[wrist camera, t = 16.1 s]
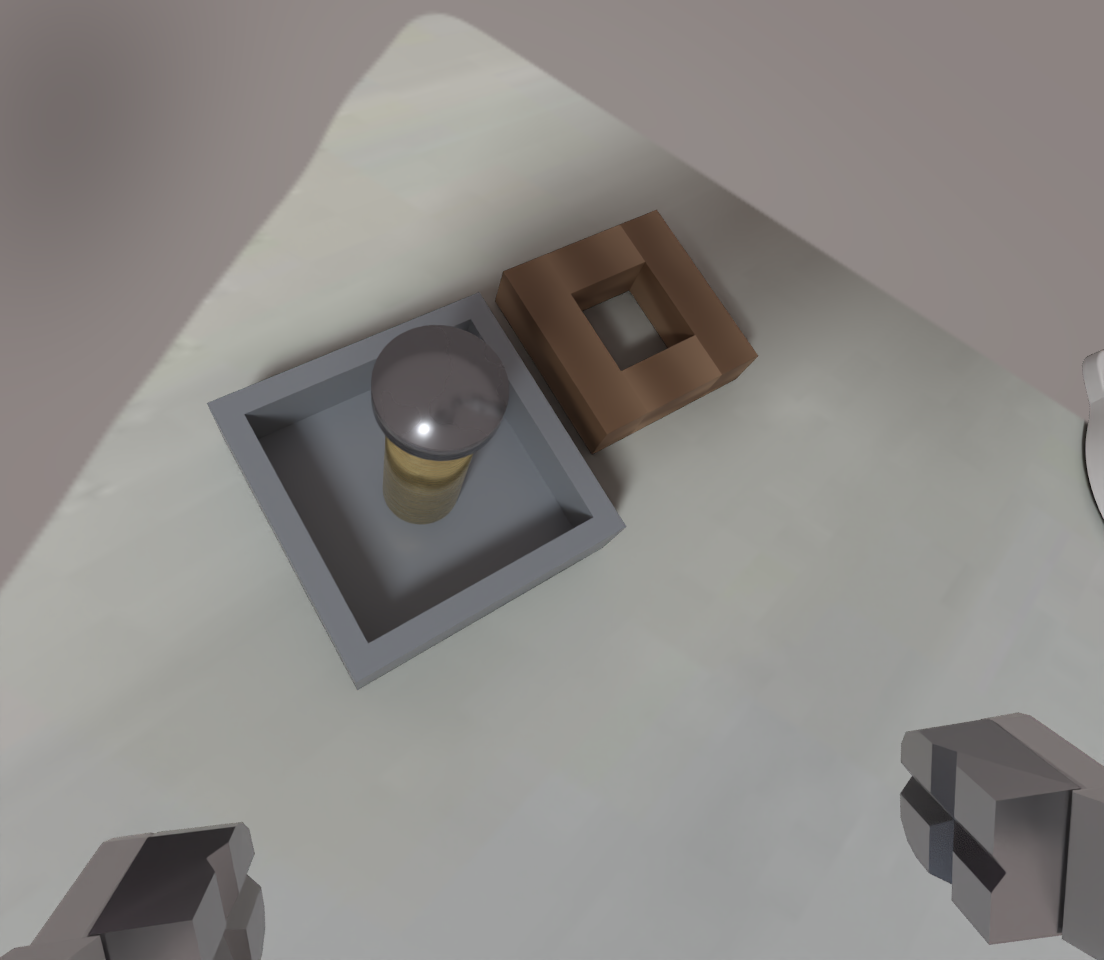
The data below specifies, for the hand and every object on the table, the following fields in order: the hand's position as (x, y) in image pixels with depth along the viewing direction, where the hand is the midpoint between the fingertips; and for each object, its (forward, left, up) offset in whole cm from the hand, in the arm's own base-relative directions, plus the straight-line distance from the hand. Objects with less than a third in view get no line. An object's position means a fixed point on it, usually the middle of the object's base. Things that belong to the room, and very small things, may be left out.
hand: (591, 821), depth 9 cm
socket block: (-17, -13, -22) cm, 31 cm away
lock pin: (-5, -10, -21) cm, 24 cm away
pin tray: (-5, -10, -22) cm, 25 cm away
